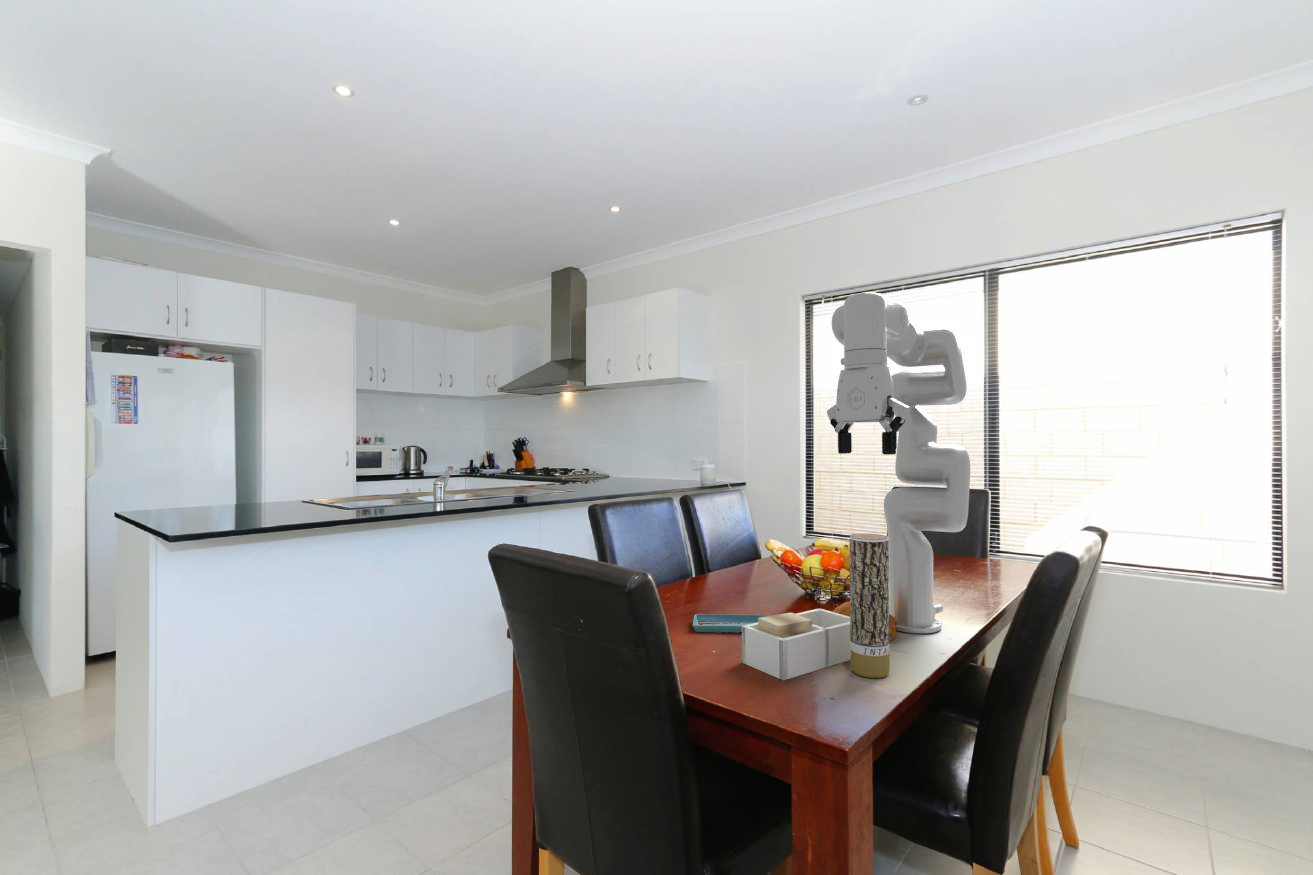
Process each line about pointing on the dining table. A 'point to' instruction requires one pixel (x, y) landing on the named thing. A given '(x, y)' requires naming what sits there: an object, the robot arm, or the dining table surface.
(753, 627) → the divided box
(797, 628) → the offcut top
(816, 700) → the dining table surface
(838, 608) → the croissant
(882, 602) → the bark print cylinder
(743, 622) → the teal serving tray
